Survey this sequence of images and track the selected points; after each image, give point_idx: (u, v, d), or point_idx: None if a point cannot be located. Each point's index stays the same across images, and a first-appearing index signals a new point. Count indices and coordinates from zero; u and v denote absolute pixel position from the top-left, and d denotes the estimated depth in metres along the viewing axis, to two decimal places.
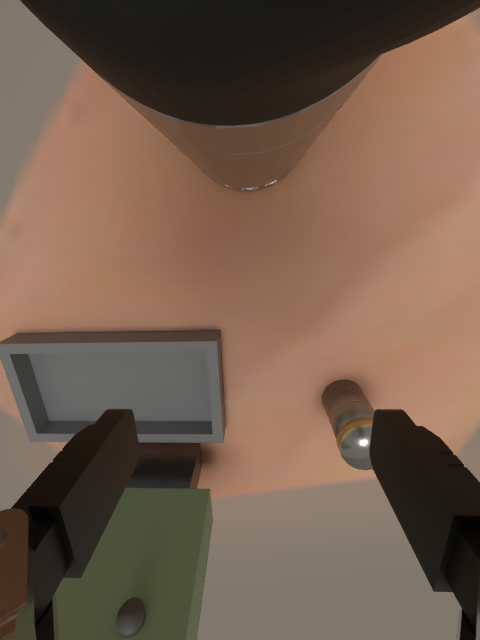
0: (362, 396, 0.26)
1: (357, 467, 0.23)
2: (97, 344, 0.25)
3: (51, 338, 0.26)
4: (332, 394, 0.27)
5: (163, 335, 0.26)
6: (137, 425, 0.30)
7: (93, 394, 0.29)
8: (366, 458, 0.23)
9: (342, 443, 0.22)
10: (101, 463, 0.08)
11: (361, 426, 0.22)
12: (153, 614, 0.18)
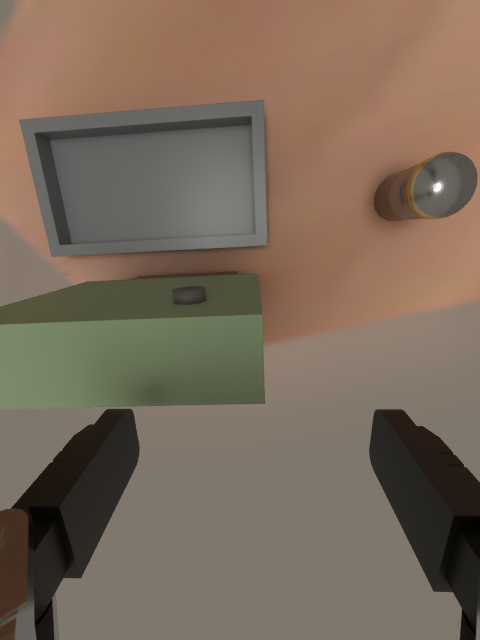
0: None
1: (432, 213, 0.20)
2: (131, 113, 0.23)
3: None
4: (390, 178, 0.24)
5: None
6: None
7: (122, 204, 0.27)
8: (444, 197, 0.20)
9: (415, 180, 0.20)
10: (101, 463, 0.08)
11: (437, 156, 0.19)
12: (215, 298, 0.14)
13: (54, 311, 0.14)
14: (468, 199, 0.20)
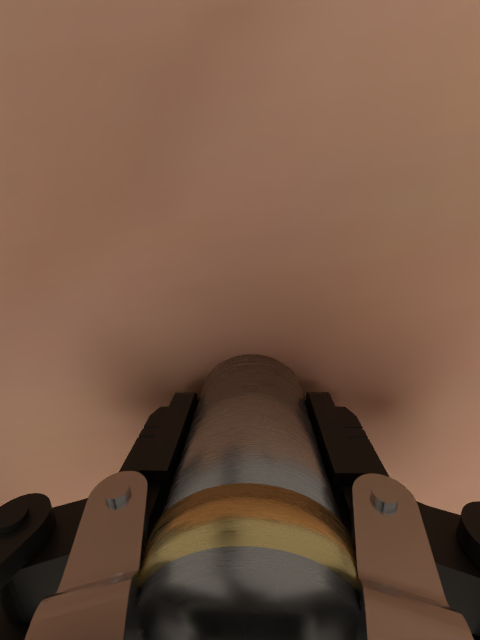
0: (284, 396, 0.08)
1: None
2: None
3: None
4: (207, 391, 0.09)
5: None
6: None
7: None
8: None
9: None
10: (184, 438, 0.08)
11: (209, 538, 0.04)
12: None
13: None
14: None
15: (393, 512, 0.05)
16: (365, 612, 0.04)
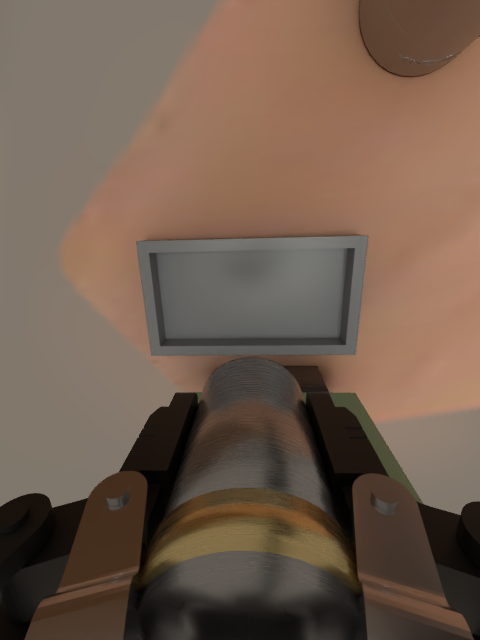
0: (284, 400, 0.08)
1: None
2: (242, 240, 0.25)
3: (189, 239, 0.26)
4: (207, 394, 0.09)
5: (304, 236, 0.26)
6: (261, 340, 0.29)
7: (217, 307, 0.29)
8: None
9: None
10: (184, 439, 0.08)
11: (210, 543, 0.04)
12: None
13: None
14: None
15: (393, 512, 0.05)
16: (365, 612, 0.04)
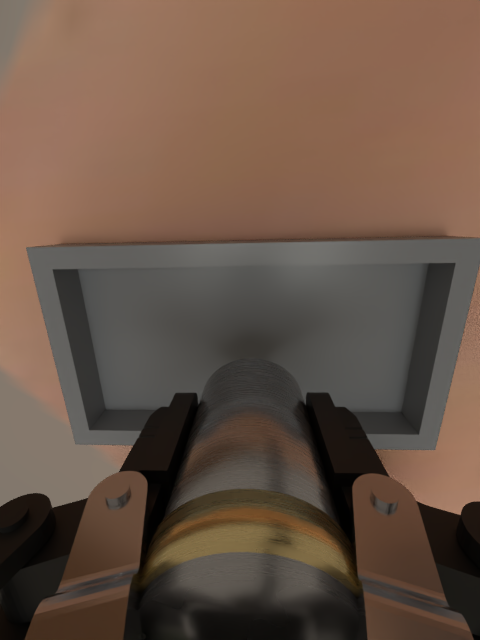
0: (284, 400, 0.08)
1: None
2: (232, 247, 0.13)
3: None
4: (207, 394, 0.09)
5: (350, 239, 0.14)
6: None
7: (190, 361, 0.16)
8: None
9: None
10: (184, 438, 0.08)
11: (209, 544, 0.04)
12: None
13: None
14: None
15: (393, 512, 0.05)
16: (365, 611, 0.04)
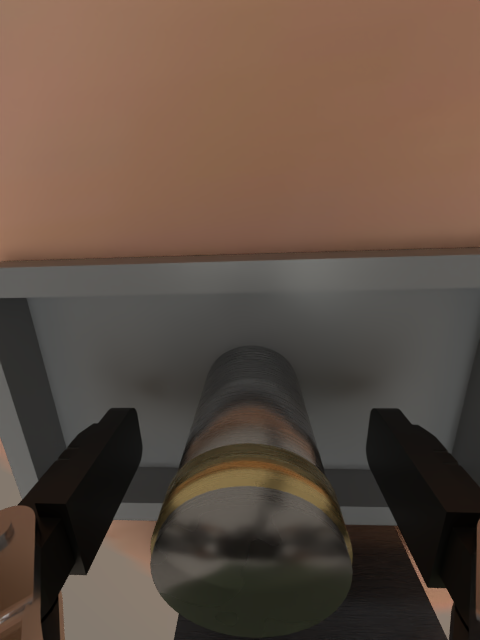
0: (280, 380, 0.10)
1: (222, 629, 0.06)
2: (227, 266, 0.09)
3: (92, 261, 0.10)
4: (212, 377, 0.10)
5: (389, 252, 0.10)
6: None
7: (176, 408, 0.13)
8: (249, 601, 0.06)
9: (154, 545, 0.06)
10: (106, 462, 0.08)
11: (217, 482, 0.06)
12: None
13: None
14: (329, 610, 0.06)
15: None
16: None
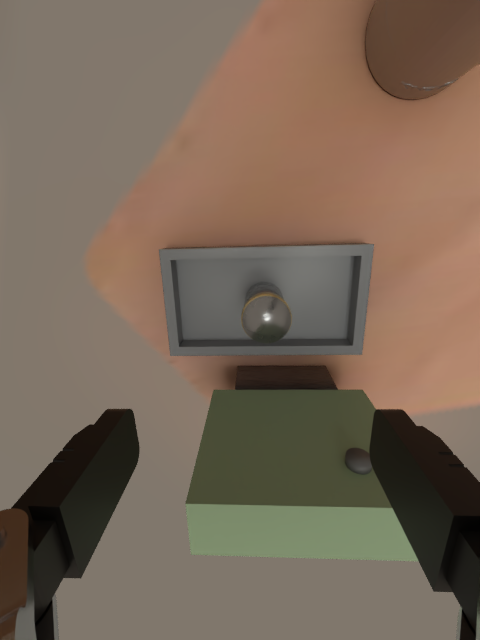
0: (275, 288, 0.27)
1: (258, 340, 0.24)
2: (257, 248, 0.27)
3: (207, 247, 0.28)
4: (250, 290, 0.28)
5: None
6: None
7: (232, 310, 0.31)
8: (266, 329, 0.24)
9: (242, 314, 0.24)
10: (102, 463, 0.08)
11: (259, 296, 0.23)
12: None
13: (259, 476, 0.18)
14: (286, 331, 0.24)
15: None
16: None
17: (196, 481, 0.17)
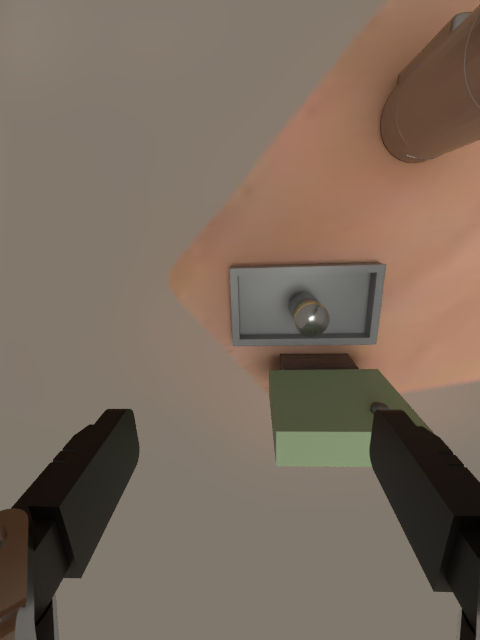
0: (314, 297, 0.38)
1: (306, 334, 0.34)
2: (301, 268, 0.37)
3: (263, 266, 0.38)
4: (294, 298, 0.39)
5: (342, 264, 0.38)
6: None
7: (278, 312, 0.41)
8: (311, 326, 0.34)
9: (295, 316, 0.34)
10: (101, 463, 0.08)
11: (307, 304, 0.34)
12: None
13: (317, 418, 0.28)
14: (325, 328, 0.34)
15: None
16: None
17: (278, 421, 0.28)
